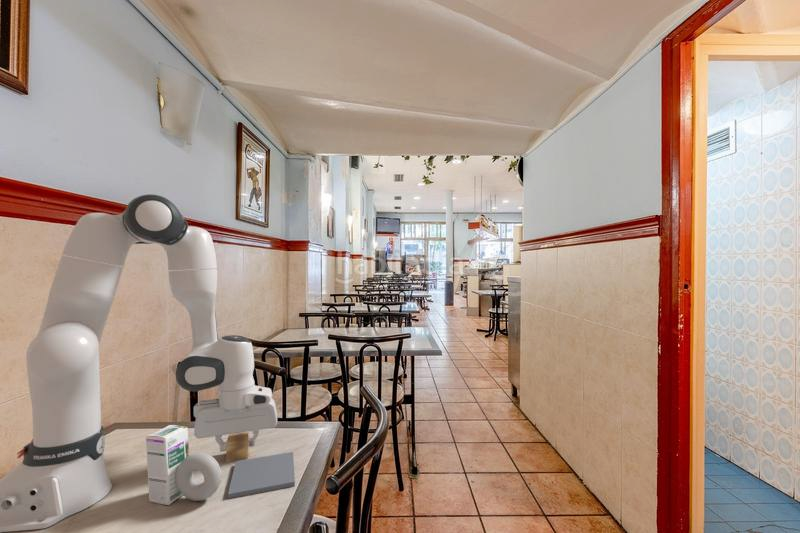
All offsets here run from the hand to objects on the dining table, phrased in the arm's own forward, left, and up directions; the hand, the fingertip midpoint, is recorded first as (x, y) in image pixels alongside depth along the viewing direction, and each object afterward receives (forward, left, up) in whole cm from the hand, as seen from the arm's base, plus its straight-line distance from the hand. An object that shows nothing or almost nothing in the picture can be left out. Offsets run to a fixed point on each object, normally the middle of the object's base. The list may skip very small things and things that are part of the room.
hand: (238, 448), depth 98 cm
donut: (-6, -17, -2) cm, 18 cm away
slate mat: (+7, -12, -2) cm, 14 cm away
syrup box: (-12, -14, -2) cm, 19 cm away
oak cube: (0, 0, -2) cm, 2 cm away
